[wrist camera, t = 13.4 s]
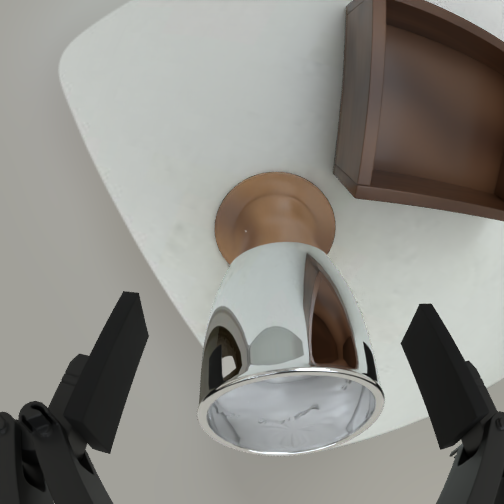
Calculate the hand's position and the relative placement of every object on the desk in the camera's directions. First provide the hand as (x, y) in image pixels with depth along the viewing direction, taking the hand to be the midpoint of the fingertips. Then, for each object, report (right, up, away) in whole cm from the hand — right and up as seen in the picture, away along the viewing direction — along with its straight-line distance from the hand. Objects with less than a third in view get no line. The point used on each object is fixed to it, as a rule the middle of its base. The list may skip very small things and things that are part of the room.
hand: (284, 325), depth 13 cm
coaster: (0, +5, +9) cm, 11 cm away
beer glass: (0, +5, +9) cm, 10 cm away
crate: (+13, +14, +4) cm, 19 cm away
